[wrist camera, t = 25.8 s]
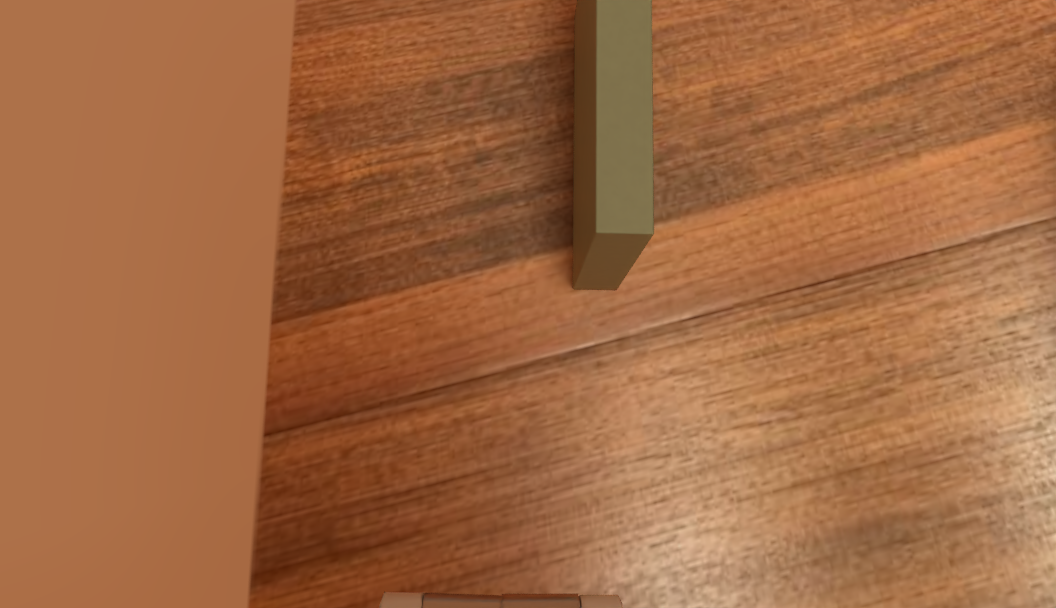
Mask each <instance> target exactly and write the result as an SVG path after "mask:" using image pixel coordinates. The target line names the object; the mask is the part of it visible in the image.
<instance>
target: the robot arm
mask: <svg viewBox="0 0 1056 608" xmlns="http://www.w3.org/2000/svg"><path fill="white" fill-rule="evenodd" d="M379 608H623V607H622V602H621V600H620V598H619V596H618V595H580V596H578V594H502V595H474V594H442V593H414V592H384V594H383V597H382V600H381V603H380V607H379Z"/></svg>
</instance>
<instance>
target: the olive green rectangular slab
mask: <svg viewBox="0 0 1056 608" xmlns="http://www.w3.org/2000/svg"><path fill="white" fill-rule="evenodd" d="M653 234H654V181H653V72H652V0H577V5H576V11H575V23H574V164H573V289H592V290H617V288H618V287H619V285H620V284H621V282H622V281H623V279H624V278H625V276H626V275H627V273H628V272H629V270H630V269H631V267H632V266H633V264H634V263H635V261H636V260H637V258H638V257H639V255H640V254H641V252H642V251H643V249H644V248H645V246H646V245H647V243H648V242H649V240H650V239H651V237H652V236H653Z"/></svg>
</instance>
